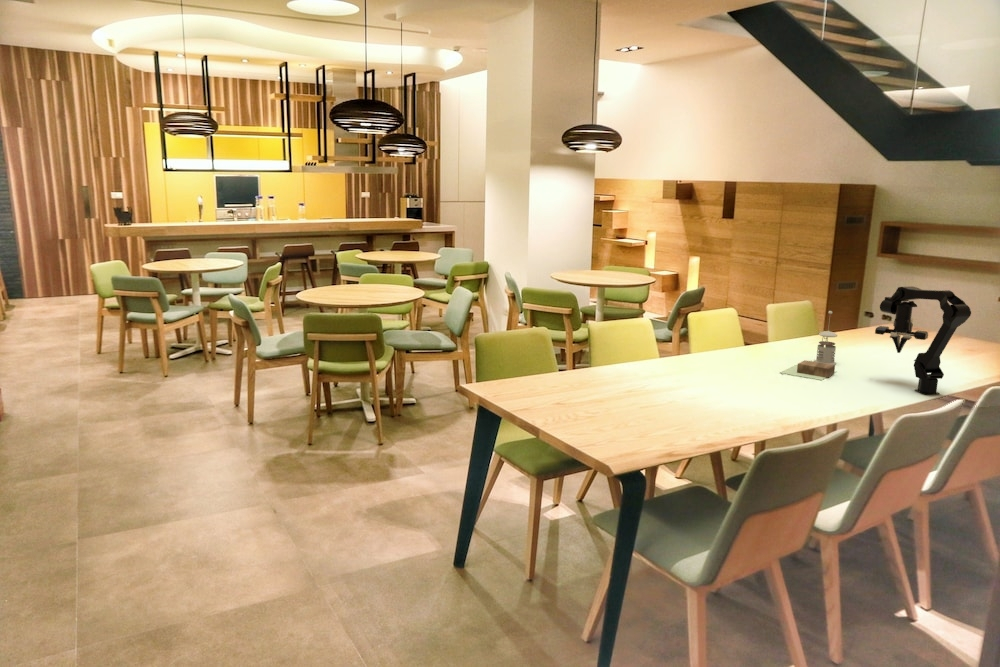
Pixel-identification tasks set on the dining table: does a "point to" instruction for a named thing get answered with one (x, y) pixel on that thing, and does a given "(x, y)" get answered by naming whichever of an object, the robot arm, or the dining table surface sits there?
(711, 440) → the dining table surface
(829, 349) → the french press
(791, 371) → the mat
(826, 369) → the slab
